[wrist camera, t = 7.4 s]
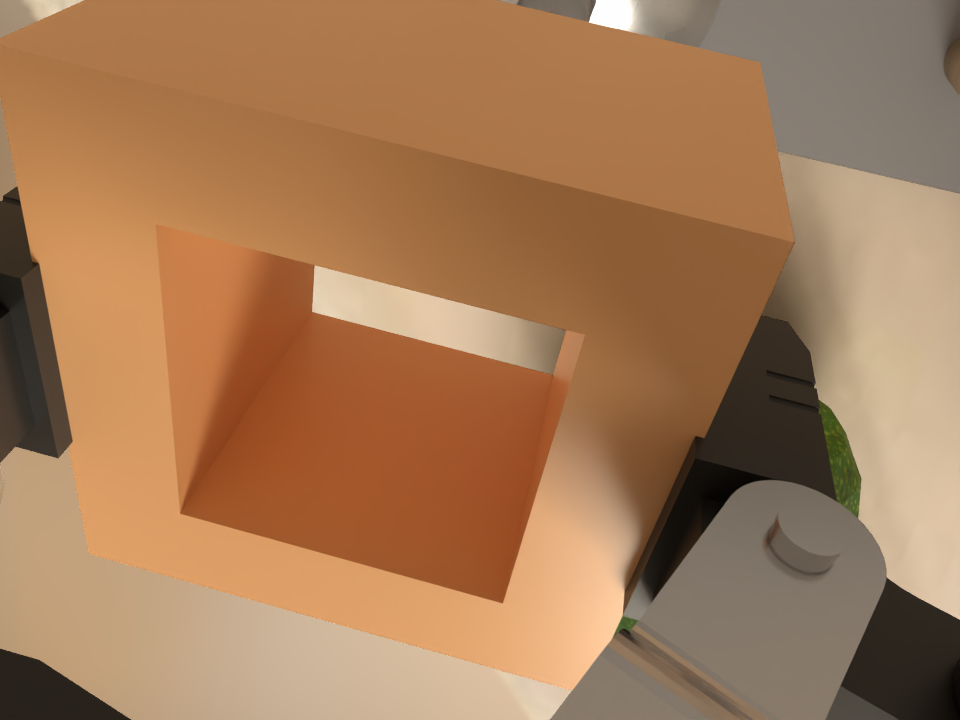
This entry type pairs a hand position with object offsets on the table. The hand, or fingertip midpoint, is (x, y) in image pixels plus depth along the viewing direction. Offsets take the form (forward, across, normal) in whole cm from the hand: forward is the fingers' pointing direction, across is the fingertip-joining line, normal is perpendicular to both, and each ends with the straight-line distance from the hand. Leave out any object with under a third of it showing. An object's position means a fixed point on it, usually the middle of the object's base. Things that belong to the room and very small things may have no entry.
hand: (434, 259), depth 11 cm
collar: (+1, 0, 0) cm, 1 cm away
